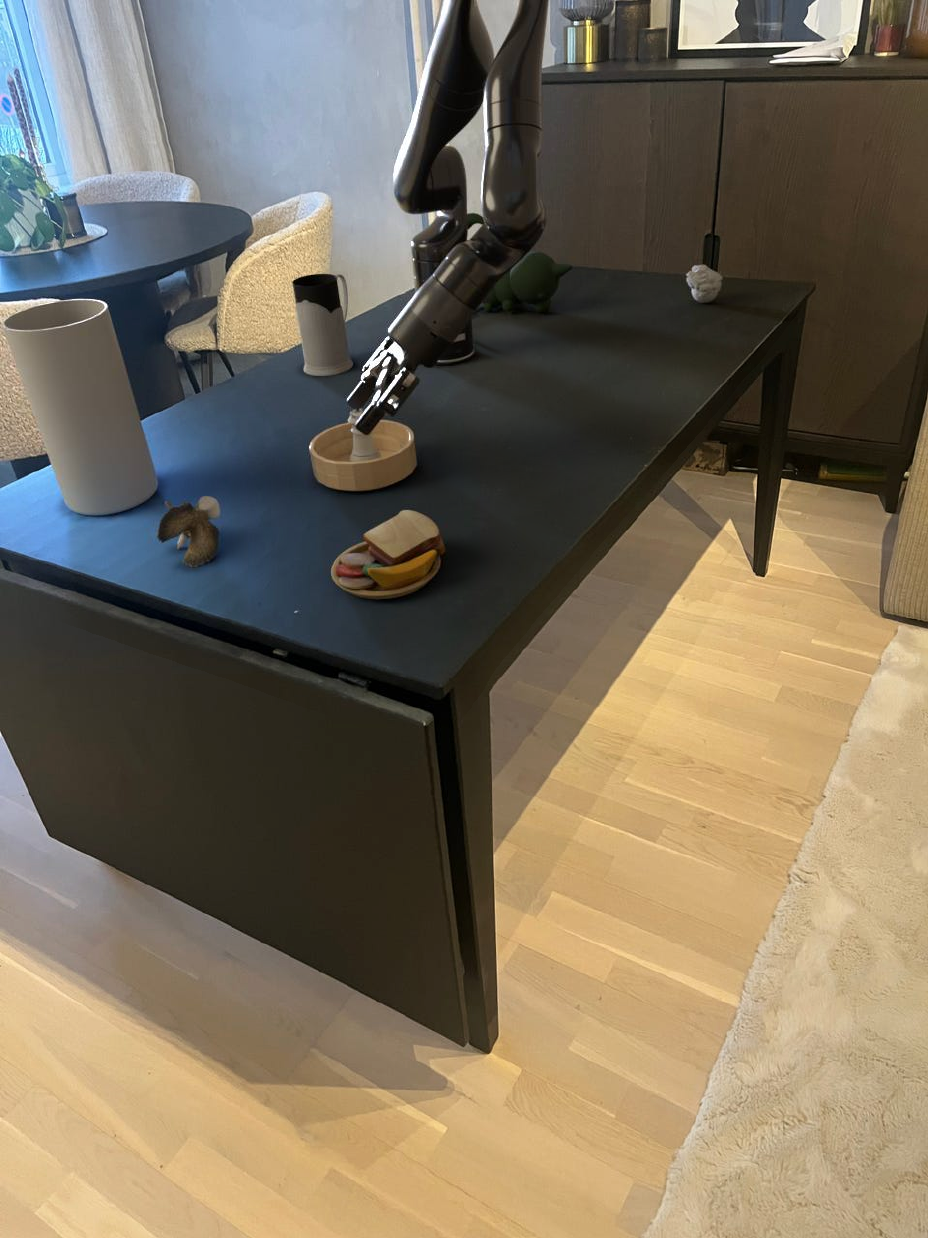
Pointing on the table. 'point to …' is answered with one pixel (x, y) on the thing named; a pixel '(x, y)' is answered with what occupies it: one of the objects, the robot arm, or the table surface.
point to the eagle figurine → (192, 529)
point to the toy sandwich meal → (391, 558)
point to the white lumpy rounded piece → (704, 283)
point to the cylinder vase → (83, 404)
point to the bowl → (342, 474)
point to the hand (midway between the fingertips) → (356, 418)
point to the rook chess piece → (361, 442)
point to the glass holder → (322, 324)
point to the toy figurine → (524, 280)
